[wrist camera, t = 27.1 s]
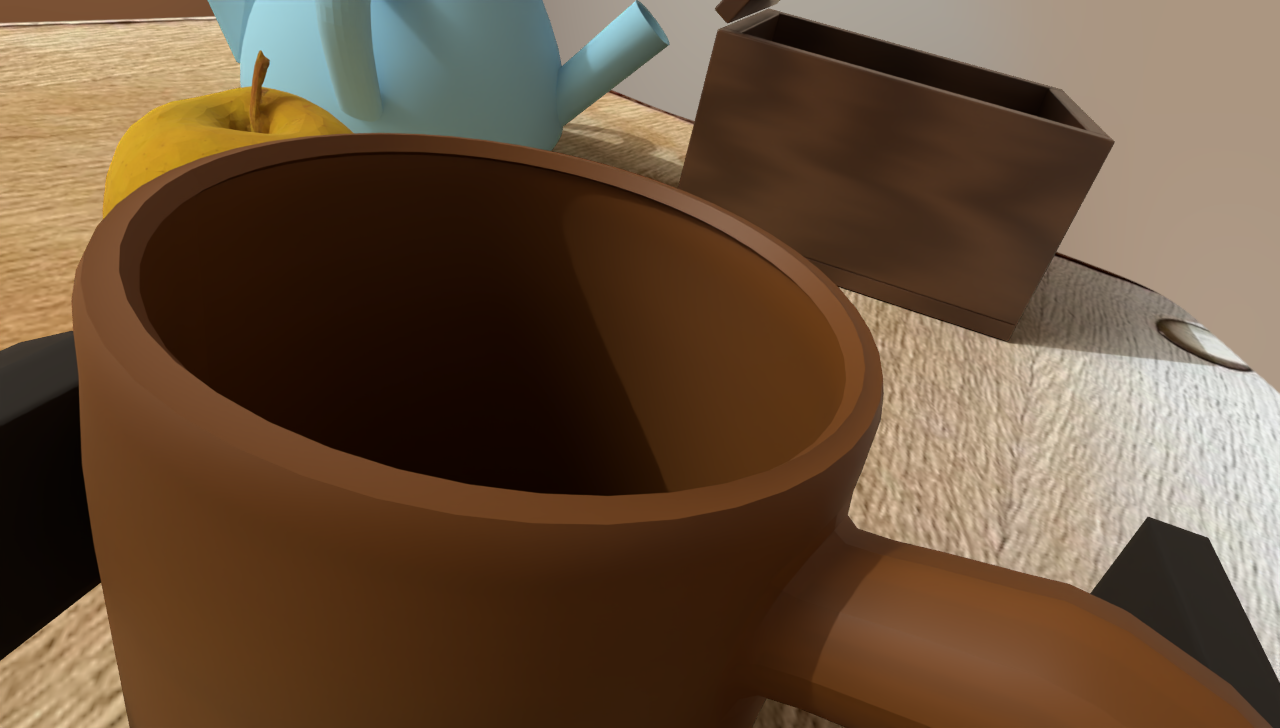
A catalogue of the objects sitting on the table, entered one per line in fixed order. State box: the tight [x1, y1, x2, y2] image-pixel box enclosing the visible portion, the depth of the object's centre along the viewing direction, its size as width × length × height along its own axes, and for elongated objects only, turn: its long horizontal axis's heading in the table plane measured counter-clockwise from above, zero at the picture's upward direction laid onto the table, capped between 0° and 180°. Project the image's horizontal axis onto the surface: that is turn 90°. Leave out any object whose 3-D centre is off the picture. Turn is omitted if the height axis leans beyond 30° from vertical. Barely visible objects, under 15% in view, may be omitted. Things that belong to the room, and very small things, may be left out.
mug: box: [72, 133, 1273, 728], centre depth 9 cm, size 12×8×9 cm, turn 53°
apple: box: [103, 50, 353, 219], centre depth 19 cm, size 6×6×8 cm
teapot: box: [208, 0, 669, 151], centre depth 35 cm, size 15×17×11 cm
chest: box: [678, 9, 1114, 341], centre depth 38 cm, size 16×13×9 cm
